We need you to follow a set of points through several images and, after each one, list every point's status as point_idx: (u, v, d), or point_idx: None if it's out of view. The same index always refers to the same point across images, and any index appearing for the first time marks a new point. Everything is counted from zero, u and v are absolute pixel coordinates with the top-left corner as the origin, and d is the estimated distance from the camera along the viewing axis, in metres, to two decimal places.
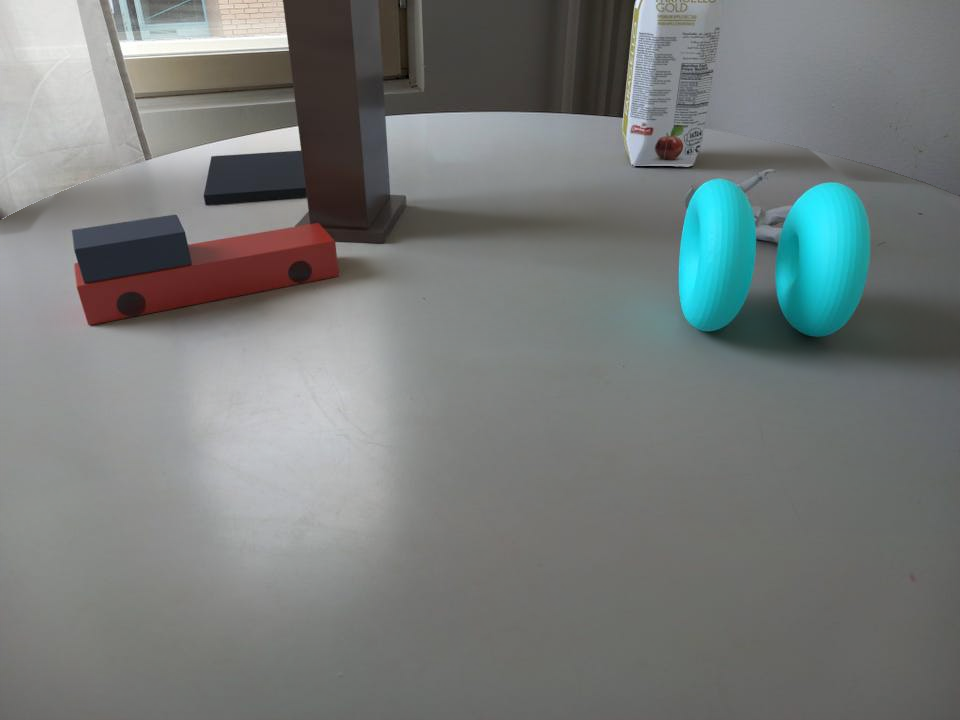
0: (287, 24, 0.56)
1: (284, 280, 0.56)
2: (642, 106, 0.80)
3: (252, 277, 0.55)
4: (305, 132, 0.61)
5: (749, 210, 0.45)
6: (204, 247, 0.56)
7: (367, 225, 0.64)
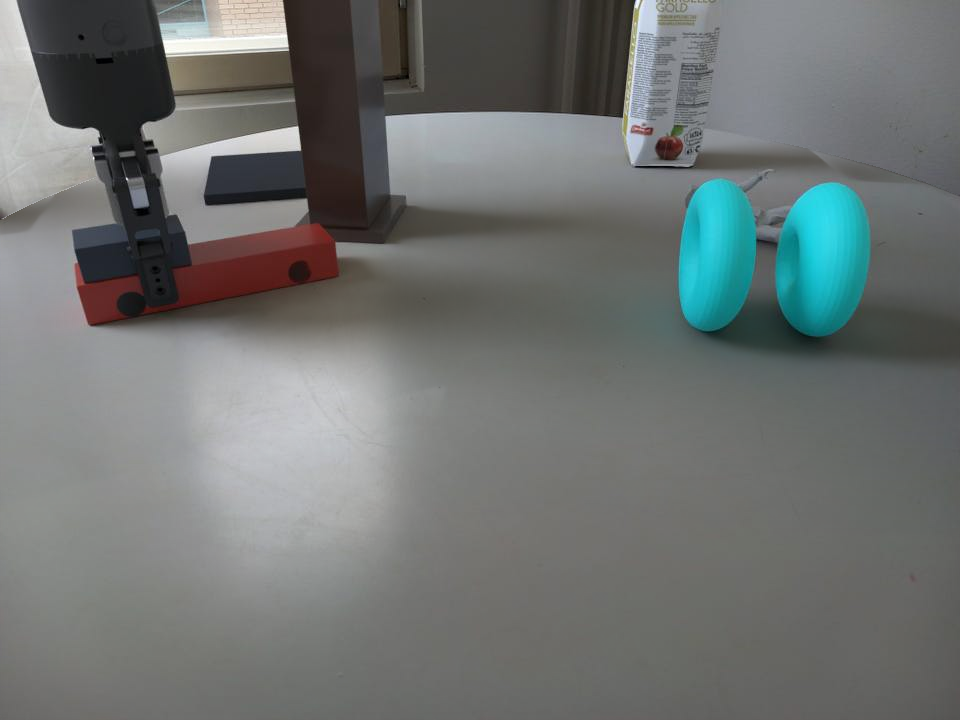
0: (287, 24, 0.56)
1: (284, 280, 0.56)
2: (642, 106, 0.80)
3: (252, 277, 0.55)
4: (305, 132, 0.61)
5: (749, 210, 0.45)
6: (204, 247, 0.56)
7: (367, 225, 0.64)
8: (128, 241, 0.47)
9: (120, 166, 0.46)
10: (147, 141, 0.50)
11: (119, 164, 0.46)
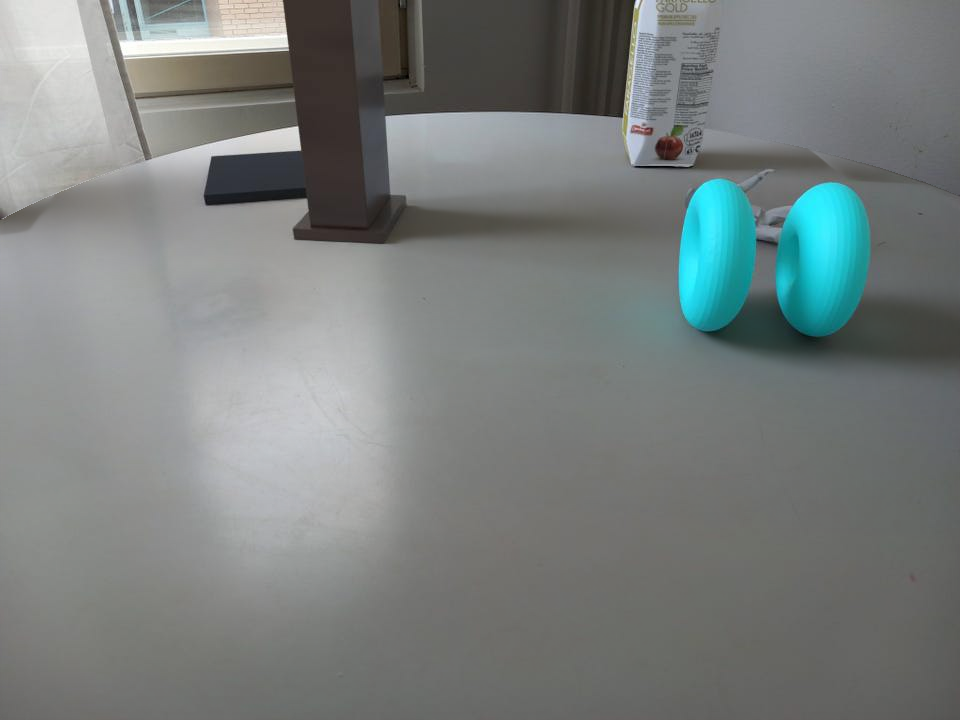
0: (287, 24, 0.56)
1: None
2: (642, 106, 0.80)
3: None
4: (305, 132, 0.61)
5: (749, 210, 0.45)
6: None
7: (367, 225, 0.64)
8: None
9: None
10: None
11: None
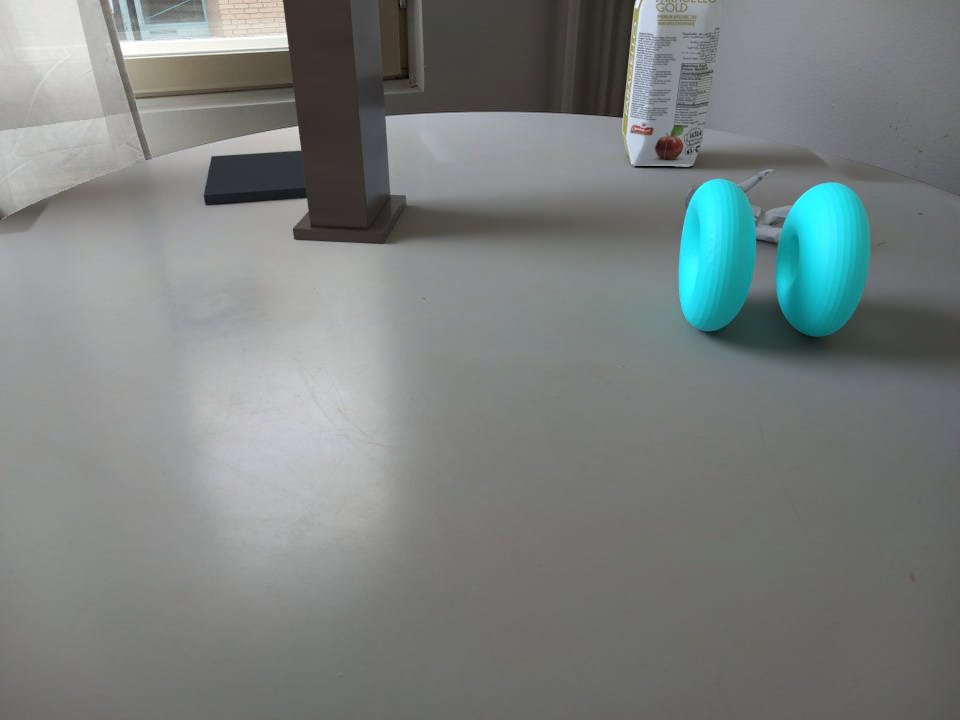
0: (287, 24, 0.56)
1: None
2: (642, 107, 0.80)
3: None
4: (305, 132, 0.61)
5: (749, 210, 0.45)
6: None
7: (367, 225, 0.64)
8: None
9: None
10: None
11: None
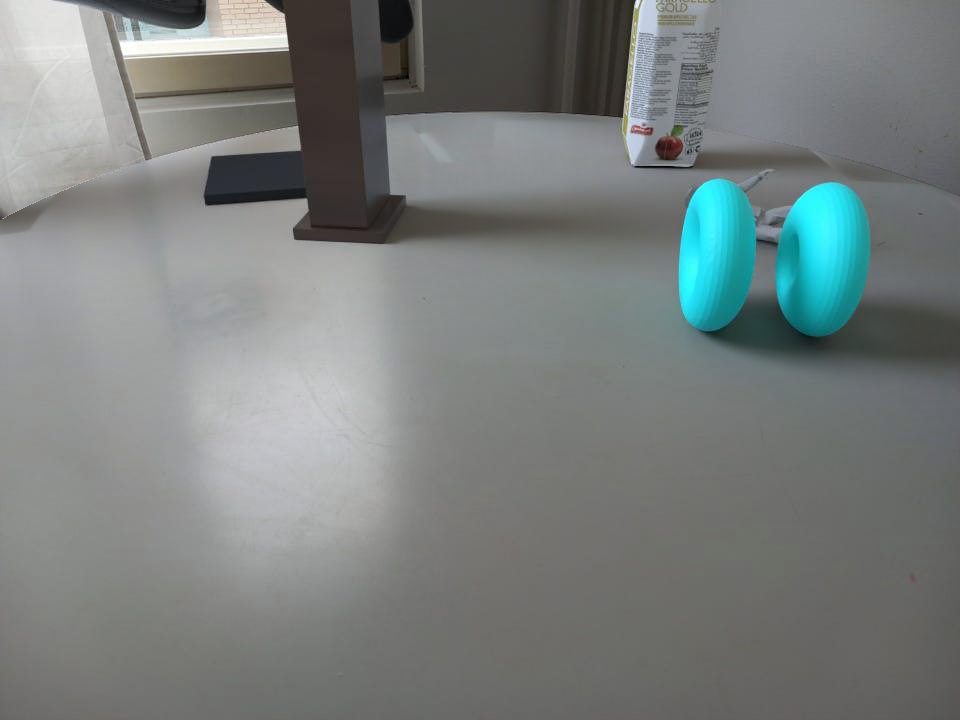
0: (287, 24, 0.56)
1: None
2: (642, 107, 0.80)
3: None
4: (305, 132, 0.61)
5: (749, 210, 0.45)
6: None
7: (367, 225, 0.64)
8: None
9: None
10: None
11: None
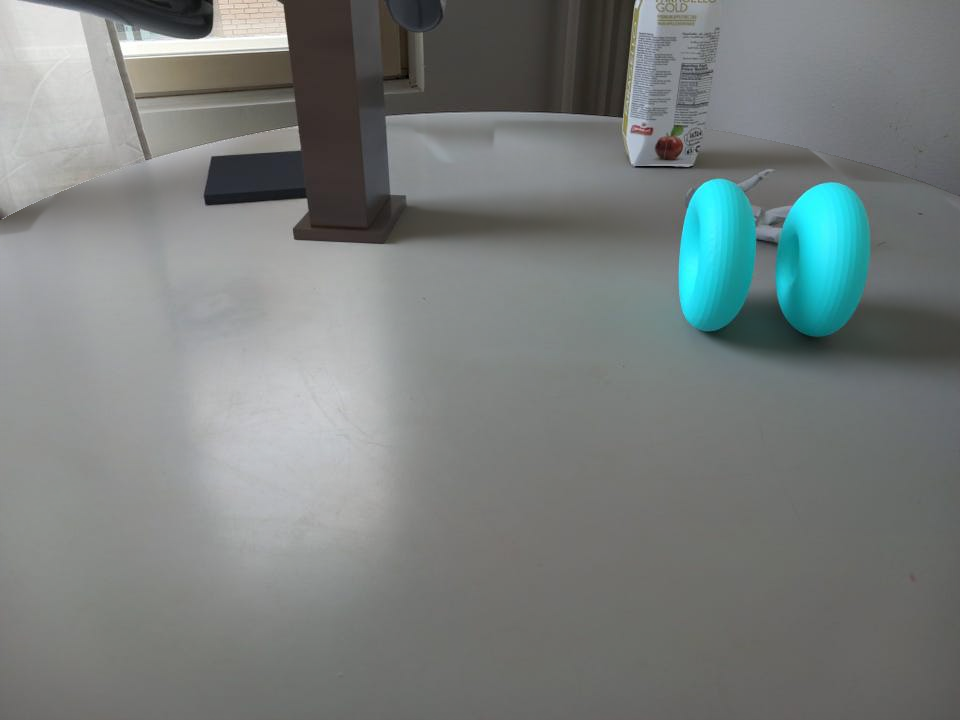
0: (287, 24, 0.56)
1: None
2: (642, 106, 0.80)
3: None
4: (305, 132, 0.61)
5: (749, 210, 0.45)
6: None
7: (367, 225, 0.64)
8: None
9: None
10: None
11: None
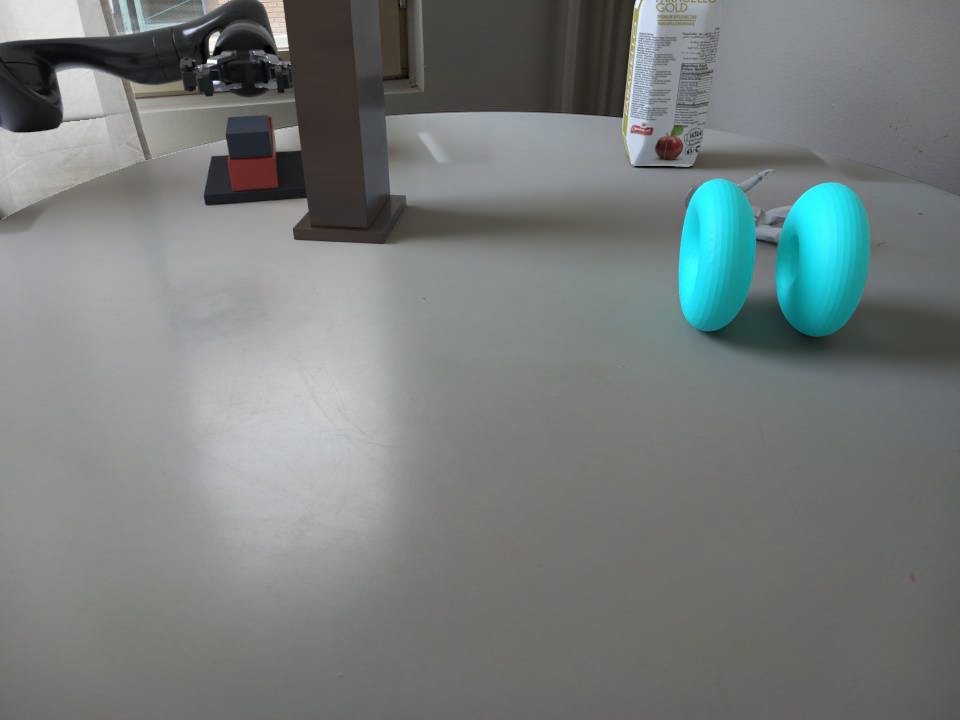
0: (287, 24, 0.56)
1: (275, 146, 0.85)
2: (642, 107, 0.80)
3: None
4: (305, 132, 0.61)
5: (749, 210, 0.45)
6: None
7: (367, 225, 0.64)
8: None
9: (282, 61, 0.85)
10: None
11: (282, 60, 0.86)
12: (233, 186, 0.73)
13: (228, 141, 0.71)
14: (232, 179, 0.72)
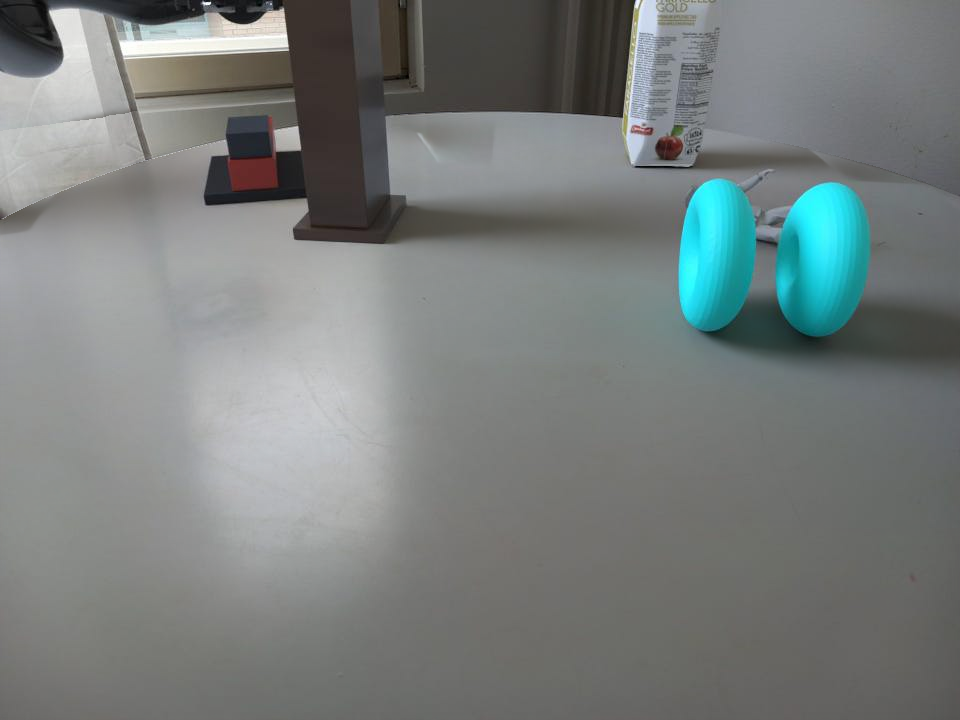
0: (287, 24, 0.56)
1: (275, 146, 0.85)
2: (642, 106, 0.80)
3: None
4: (305, 132, 0.61)
5: (749, 210, 0.45)
6: None
7: (367, 225, 0.64)
8: None
9: None
10: None
11: None
12: (233, 186, 0.73)
13: (228, 141, 0.71)
14: (232, 179, 0.72)
